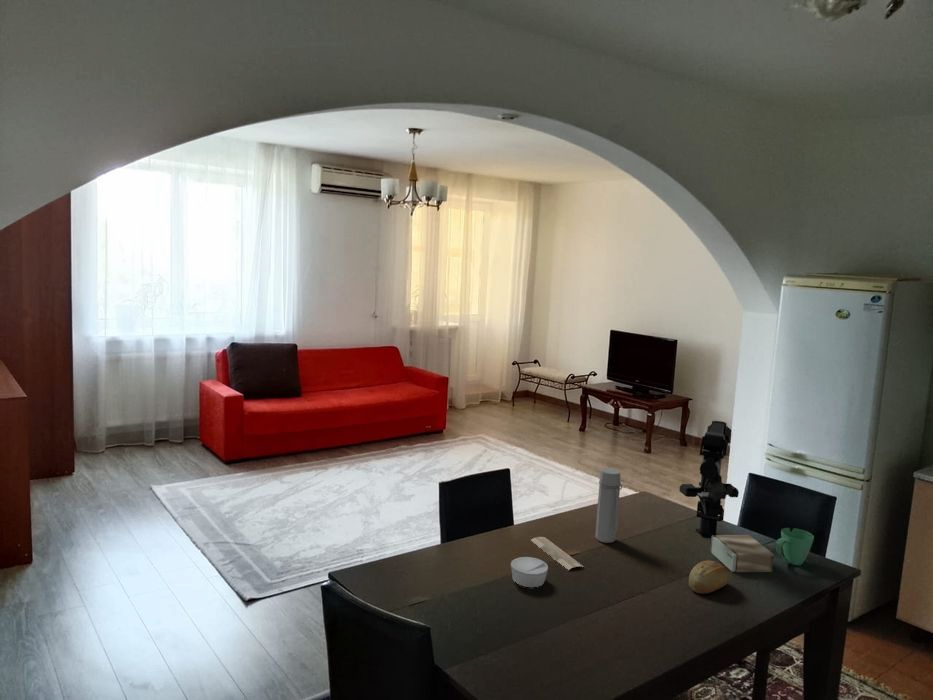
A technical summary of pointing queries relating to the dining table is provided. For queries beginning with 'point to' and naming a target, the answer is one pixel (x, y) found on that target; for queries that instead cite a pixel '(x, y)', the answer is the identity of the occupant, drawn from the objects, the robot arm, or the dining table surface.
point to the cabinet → (748, 553)
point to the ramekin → (529, 571)
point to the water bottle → (608, 505)
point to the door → (723, 553)
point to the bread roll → (708, 577)
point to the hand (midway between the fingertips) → (706, 514)
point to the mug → (794, 545)
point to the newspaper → (556, 553)
